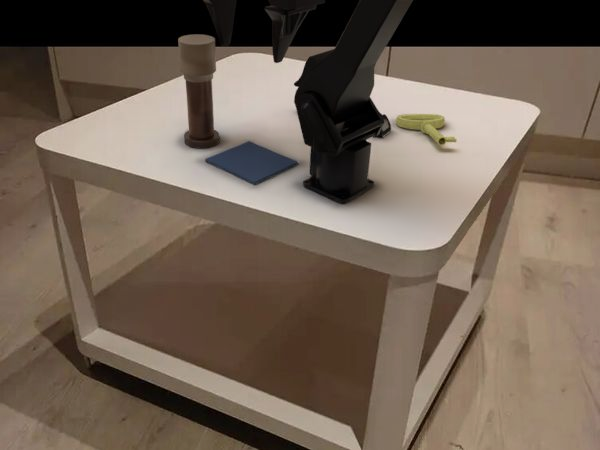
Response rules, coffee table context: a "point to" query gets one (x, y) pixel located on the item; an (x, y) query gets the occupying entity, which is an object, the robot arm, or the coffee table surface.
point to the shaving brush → (199, 88)
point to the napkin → (251, 162)
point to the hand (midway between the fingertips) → (250, 53)
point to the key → (425, 125)
